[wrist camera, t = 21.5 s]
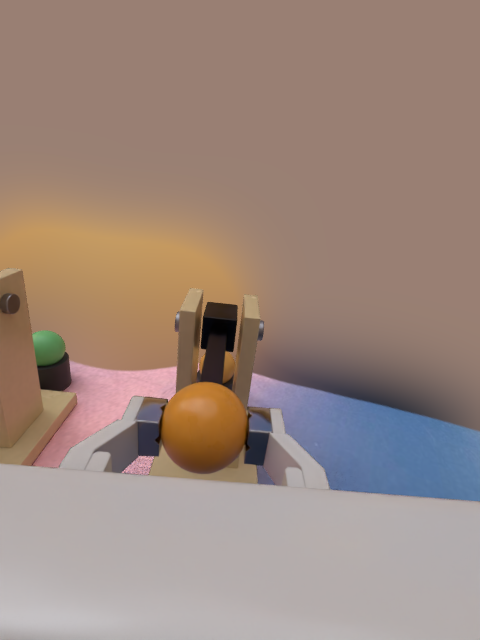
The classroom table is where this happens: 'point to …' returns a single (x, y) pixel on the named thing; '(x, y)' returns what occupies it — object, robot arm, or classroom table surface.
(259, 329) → the tan wooden upright frame
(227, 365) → the amber lamp
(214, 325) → the amber switch
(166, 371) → the classroom table surface
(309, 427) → the classroom table surface
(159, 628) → the robot arm
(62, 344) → the green lamp
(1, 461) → the wooden lever stand
